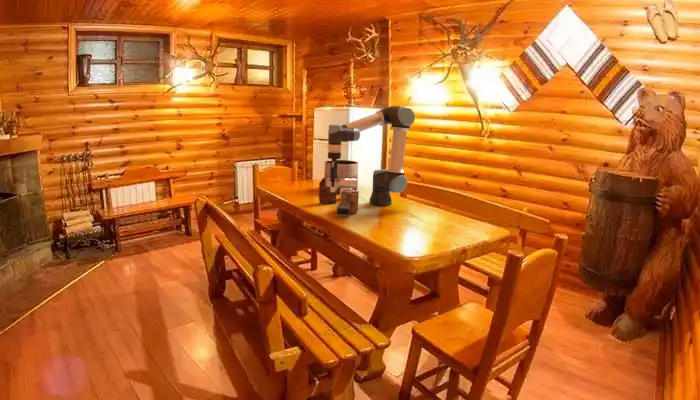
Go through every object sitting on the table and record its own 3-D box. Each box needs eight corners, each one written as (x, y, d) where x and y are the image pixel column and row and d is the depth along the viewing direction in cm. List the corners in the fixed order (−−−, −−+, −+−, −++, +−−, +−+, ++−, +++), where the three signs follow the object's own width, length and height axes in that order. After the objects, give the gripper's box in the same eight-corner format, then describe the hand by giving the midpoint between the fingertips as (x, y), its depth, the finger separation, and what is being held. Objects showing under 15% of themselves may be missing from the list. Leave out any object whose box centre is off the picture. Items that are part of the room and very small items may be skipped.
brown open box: (358, 209, 273) (358, 189, 271) (356, 213, 264) (357, 192, 261) (342, 209, 274) (342, 188, 272) (340, 212, 265) (340, 192, 262)
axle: (357, 187, 257) (357, 178, 256) (356, 189, 252) (356, 179, 250) (326, 186, 259) (326, 177, 257) (325, 188, 253) (325, 178, 252)
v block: (350, 213, 263) (350, 203, 262) (348, 217, 254) (348, 207, 252) (338, 213, 264) (338, 202, 262) (336, 217, 254) (336, 206, 253)
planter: (350, 195, 315) (351, 165, 311) (318, 192, 324) (319, 162, 319) (361, 189, 339) (362, 161, 334) (332, 186, 347) (332, 159, 342)
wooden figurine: (321, 204, 284) (322, 177, 280) (318, 202, 289) (318, 176, 285) (338, 203, 289) (338, 176, 285) (334, 201, 294) (334, 175, 291)
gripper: (330, 149, 260) (329, 187, 265) (325, 153, 242) (324, 193, 247) (342, 150, 260) (341, 188, 265) (338, 153, 242) (337, 194, 247)
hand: (333, 191), depth 256 cm, fingers closed on axle, 5 cm apart
